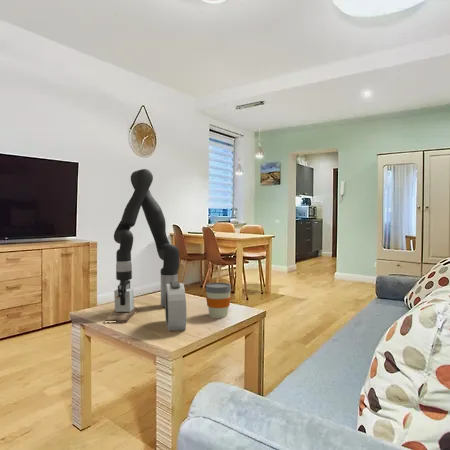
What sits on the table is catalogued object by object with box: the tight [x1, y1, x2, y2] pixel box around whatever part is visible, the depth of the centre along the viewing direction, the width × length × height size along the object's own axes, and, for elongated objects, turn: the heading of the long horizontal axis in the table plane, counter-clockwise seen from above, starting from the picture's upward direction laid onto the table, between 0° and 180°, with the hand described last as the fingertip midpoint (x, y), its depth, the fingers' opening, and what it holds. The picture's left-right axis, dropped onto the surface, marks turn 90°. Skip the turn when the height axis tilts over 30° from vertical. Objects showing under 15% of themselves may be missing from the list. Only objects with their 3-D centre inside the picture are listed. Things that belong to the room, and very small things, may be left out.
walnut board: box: [104, 307, 138, 323], centre depth 174 cm, size 10×20×2 cm, turn 0°
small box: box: [113, 288, 135, 312], centre depth 178 cm, size 8×6×10 cm
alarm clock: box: [164, 281, 187, 332], centre depth 159 cm, size 21×8×20 cm, turn 13°
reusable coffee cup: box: [205, 282, 232, 319], centre depth 175 cm, size 13×13×15 cm
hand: (124, 303), depth 178 cm, fingers closed on small box, 6 cm apart
